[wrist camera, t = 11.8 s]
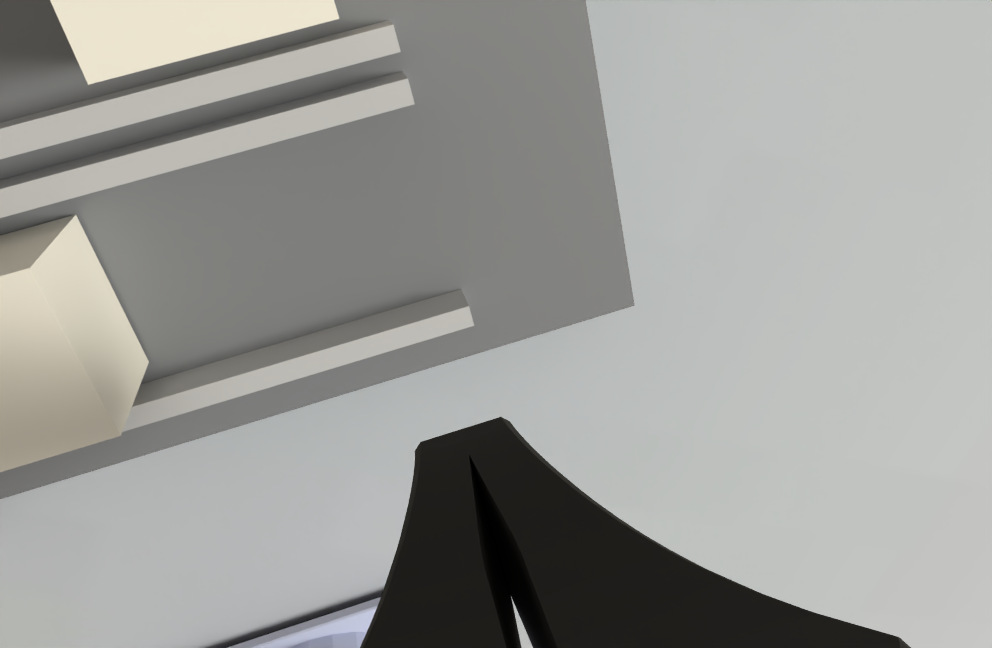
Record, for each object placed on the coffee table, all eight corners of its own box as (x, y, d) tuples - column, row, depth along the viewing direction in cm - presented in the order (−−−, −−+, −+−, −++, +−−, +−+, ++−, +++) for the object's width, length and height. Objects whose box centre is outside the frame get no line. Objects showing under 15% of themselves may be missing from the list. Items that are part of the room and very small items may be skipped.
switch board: (607, 275, 21) (649, 322, 19) (-160, 506, 20) (-233, 593, 17) (491, -388, 15) (530, -460, 12) (-658, -133, 13) (-899, -154, 11)
